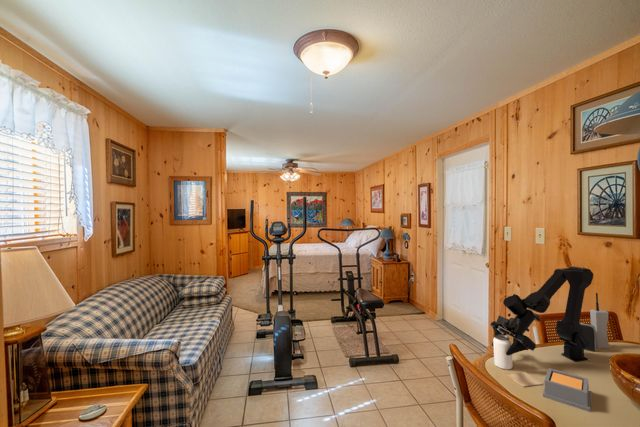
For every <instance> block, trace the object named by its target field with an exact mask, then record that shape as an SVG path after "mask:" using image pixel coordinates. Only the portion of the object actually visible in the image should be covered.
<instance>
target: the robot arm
mask: <svg viewBox="0 0 640 427" xmlns="http://www.w3.org/2000/svg"><path fill="white" fill-rule="evenodd" d="M593 279H594V272H592V270H591V269H590V268H586V267H582V266H581V267H578V266H575V265H574V266H570V267H567V268H566V267H563V268H556V269H554V271H553V273H552V274H551V276H550V277H549V278H548V279H547V280H546V281H545V282H544V283H543V285H542V286H541V287H540V288H539V289H538V290H537V291H535V292H531V293H529V294H528V295H527V296H526V297H525V298H521V297H520V296H519V295H518V294H515V293H513V295H509V296H507V297H505V298H504V299H503V301H502V303H503V306H504V307H506V309H508V311H510V313H512V315H515V317H512V316H511V317H510V318H507V317H504V316H501V315H498V316H497V320H494V321H492V322H491V323H490V326H491V327H492V329H493V332H494V335H505V336H507V335H508V337H510V338H512V342H511V346H510V348H509V349H508V351H507V352H506V355H508V356H509V355H512V356H513V355H514V354H517V353H519V352H523V351H529V350H530V351H532V352H533V351H534V350H535V349H536V346H537V344H536V343H535V342H534V341H533V340H532V339H531V338H530V337H529V336H527V335H525V333H526V332H527V333H529V332H530V329H529V328H530V326H531V325H532V324H533V322H534V321H537V322H540V321H541V319H540V316H539V314H542V313H543V314H544V313H545V312H547V310H548V308H549V306H551V299H552V297H553V296H554V295H555V294H556V293H557V292H558V291H559V289H561V287H562V286H563V285H564V284H565V283H566V281H567V283H568V285H569V289H568V294H567V300H566V305H565V306H566V307H565V310H564V311H565V312H564V317H563V318H561V320H559V319H557V321H556V326H555V330H556V332H555V333H556V335H558V338H559V340H560V341H563V352H562V353H561V354H560V355H561V356H563V357H565V358H566V359H570V360H572V361H573V362H582V361H585V362H586V361H589V358H587V357H585V349H584V348H586V347H588V346H589V341H588V340H587V339H586V338H585V337H584V336H583V329H582V327H581V325H580V323H581V322H580V320H581V314H582V308H583V302H584V297H585V291H586V289H587V288H588V287H589V286H591V285H592V282H593ZM533 311H534V312H533ZM535 312H536V313H535ZM537 313H538V314H537ZM579 322H580V323H579ZM494 335H493V336H494ZM493 339H494V337H493ZM493 339H492V340H493ZM491 346H492V347H493V341H492V342H491Z"/></svg>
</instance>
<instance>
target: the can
mask: <svg viewBox="0 0 640 427" xmlns="http://www.w3.org/2000/svg"><path fill="white" fill-rule="evenodd" d="M493 338H494V339H492V342H493V346H492V347H493V362H494V363H493V364H494V365H495V366H496V367H497V368H499V369H502V370H507V371H508V370H509V371H510V370H511V369H513V354H512V355H509V356H508V355H506V352H507V351H508V349H509V348H510V346H511V345H512V341H511V337H510V336H509V335H508V336H507V335H493Z"/></svg>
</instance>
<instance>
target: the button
mask: <svg viewBox="0 0 640 427" xmlns="http://www.w3.org/2000/svg"><path fill="white" fill-rule="evenodd" d="M551 381H553V382H556V383H559V384H563V385H566V386H570V387H573V388H577V389H580V390H583V380H580V379H576V378H572V377H569V376H565V375H562V374H558V373H554V372H553V374H552V377H551Z"/></svg>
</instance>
